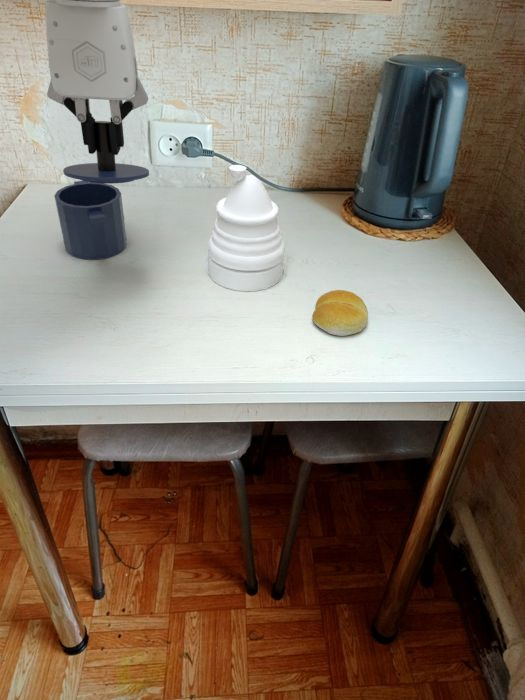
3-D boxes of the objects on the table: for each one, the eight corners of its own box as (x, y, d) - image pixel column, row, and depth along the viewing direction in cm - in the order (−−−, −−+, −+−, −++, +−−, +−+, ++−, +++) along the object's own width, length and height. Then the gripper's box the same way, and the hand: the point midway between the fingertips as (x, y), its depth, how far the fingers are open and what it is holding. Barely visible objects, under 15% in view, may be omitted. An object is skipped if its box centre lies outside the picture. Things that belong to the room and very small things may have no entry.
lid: (61, 186, 66) (53, 124, 62) (66, 170, 76) (60, 116, 72) (152, 186, 69) (150, 128, 65) (146, 171, 79) (143, 119, 75)
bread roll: (308, 332, 75) (311, 310, 73) (317, 300, 82) (321, 279, 80) (364, 343, 74) (369, 321, 72) (368, 310, 81) (373, 288, 78)
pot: (72, 271, 84) (62, 218, 78) (59, 229, 95) (48, 180, 89) (136, 261, 88) (130, 209, 82) (116, 222, 99) (110, 174, 93)
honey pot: (218, 295, 81) (219, 186, 70) (200, 257, 91) (198, 154, 79) (293, 286, 85) (305, 180, 74) (268, 249, 94) (275, 151, 83)
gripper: (2, -15, 55) (37, 157, 67) (152, -3, 57) (161, 163, 68) (23, -20, 61) (52, 139, 72) (159, -9, 62) (166, 145, 74)
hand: (105, 150), depth 70 cm, fingers closed on lid, 2 cm apart
